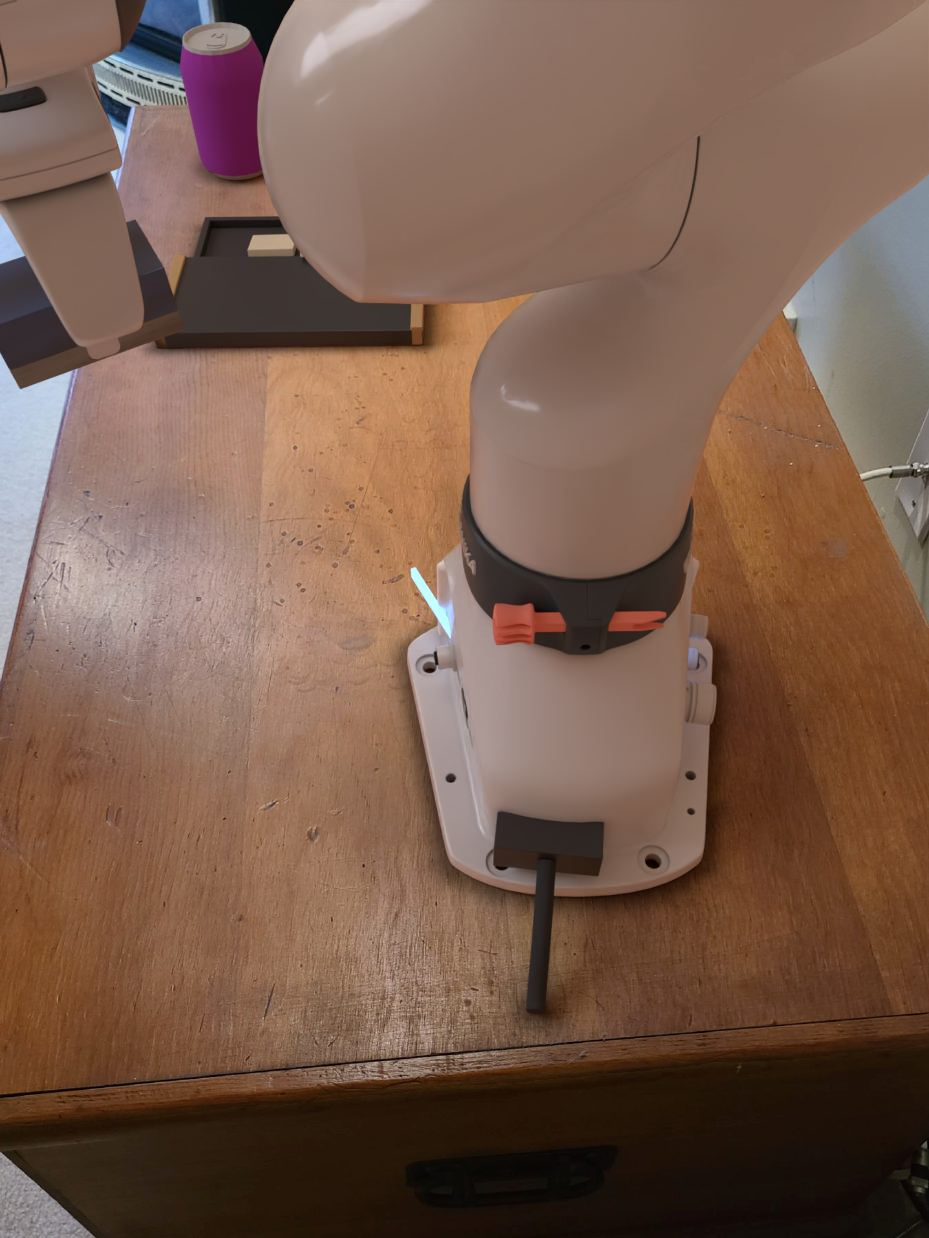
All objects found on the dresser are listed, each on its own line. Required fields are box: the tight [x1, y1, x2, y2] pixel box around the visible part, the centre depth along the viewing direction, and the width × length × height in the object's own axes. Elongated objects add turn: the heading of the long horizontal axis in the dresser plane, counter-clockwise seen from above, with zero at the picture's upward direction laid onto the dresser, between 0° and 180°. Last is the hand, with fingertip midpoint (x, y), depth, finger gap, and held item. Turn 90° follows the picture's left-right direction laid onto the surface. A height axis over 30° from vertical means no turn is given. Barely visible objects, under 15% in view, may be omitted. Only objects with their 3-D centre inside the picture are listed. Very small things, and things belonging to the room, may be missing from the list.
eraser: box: [0, 219, 184, 390], centre depth 57 cm, size 5×10×4 cm, turn 119°
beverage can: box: [179, 21, 265, 181], centre depth 95 cm, size 8×8×12 cm
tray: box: [193, 215, 300, 257], centre depth 90 cm, size 7×19×1 cm, turn 90°
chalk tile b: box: [248, 234, 296, 257], centre depth 88 cm, size 4×4×1 cm
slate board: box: [154, 253, 426, 349], centre depth 84 cm, size 11×22×2 cm, turn 91°
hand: (86, 320), depth 58 cm, fingers closed on eraser, 5 cm apart
